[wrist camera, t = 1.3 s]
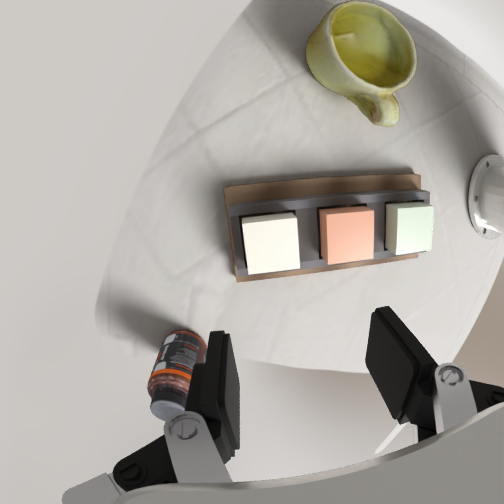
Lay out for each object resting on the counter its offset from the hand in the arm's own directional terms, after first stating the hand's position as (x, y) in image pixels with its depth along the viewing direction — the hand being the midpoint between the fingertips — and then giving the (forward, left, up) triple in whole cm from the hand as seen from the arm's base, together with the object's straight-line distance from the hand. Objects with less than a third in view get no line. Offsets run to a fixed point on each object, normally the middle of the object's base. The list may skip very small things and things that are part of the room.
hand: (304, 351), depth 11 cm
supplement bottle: (+12, +14, -20) cm, 27 cm away
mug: (-11, -16, -20) cm, 28 cm away
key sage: (-14, 0, -16) cm, 22 cm away
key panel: (-7, 0, -20) cm, 21 cm away
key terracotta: (-7, 0, -16) cm, 18 cm away
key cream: (0, 0, -16) cm, 16 cm away
